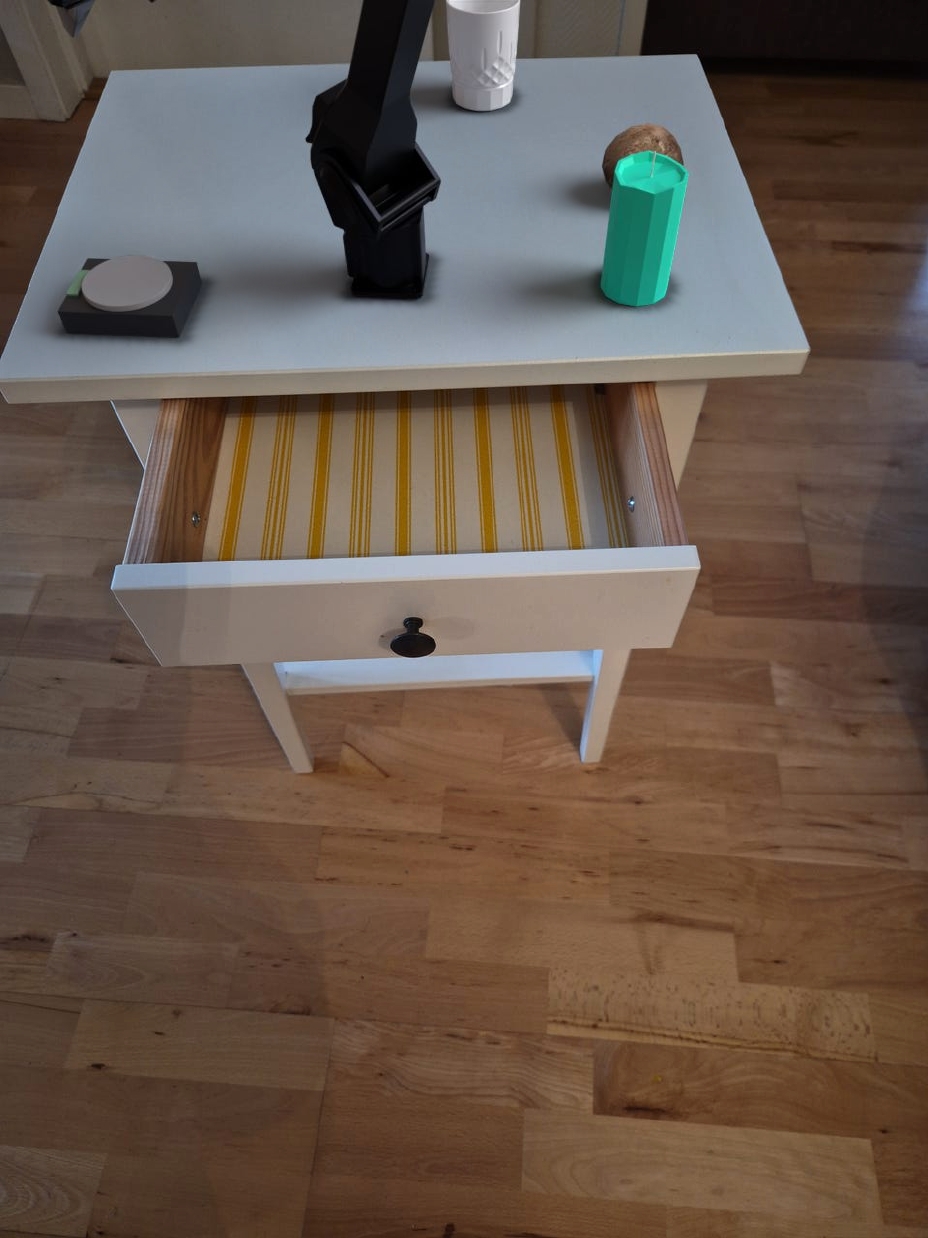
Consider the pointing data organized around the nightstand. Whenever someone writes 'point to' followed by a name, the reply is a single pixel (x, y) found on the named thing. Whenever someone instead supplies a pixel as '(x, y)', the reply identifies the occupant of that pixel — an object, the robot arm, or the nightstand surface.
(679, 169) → the candle
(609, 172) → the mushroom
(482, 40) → the white cup
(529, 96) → the nightstand surface
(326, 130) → the robot arm
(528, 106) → the nightstand surface
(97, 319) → the scale
